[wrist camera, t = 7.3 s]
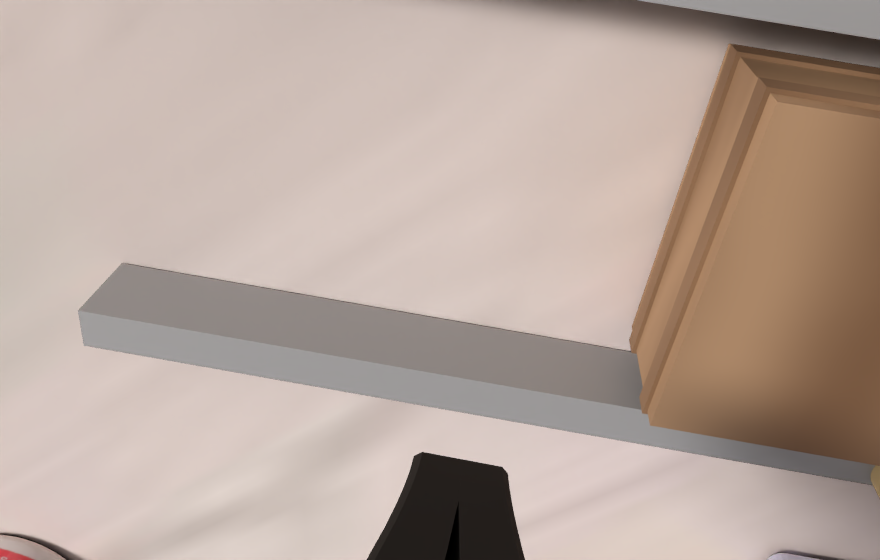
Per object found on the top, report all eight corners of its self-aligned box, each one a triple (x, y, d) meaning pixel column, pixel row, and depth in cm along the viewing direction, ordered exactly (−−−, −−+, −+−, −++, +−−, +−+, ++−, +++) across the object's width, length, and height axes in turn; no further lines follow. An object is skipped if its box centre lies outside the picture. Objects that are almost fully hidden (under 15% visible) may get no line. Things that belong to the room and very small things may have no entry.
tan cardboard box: (1095, 98, 16) (1239, 172, 13) (916, 379, 21) (989, 488, 17) (725, 38, 16) (773, 95, 13) (627, 329, 21) (644, 428, 18)
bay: (1165, -11, 15) (1344, 39, 12) (882, 434, 22) (944, 545, 19) (66, -187, 16) (-62, -187, 12) (126, 301, 23) (55, 386, 19)
